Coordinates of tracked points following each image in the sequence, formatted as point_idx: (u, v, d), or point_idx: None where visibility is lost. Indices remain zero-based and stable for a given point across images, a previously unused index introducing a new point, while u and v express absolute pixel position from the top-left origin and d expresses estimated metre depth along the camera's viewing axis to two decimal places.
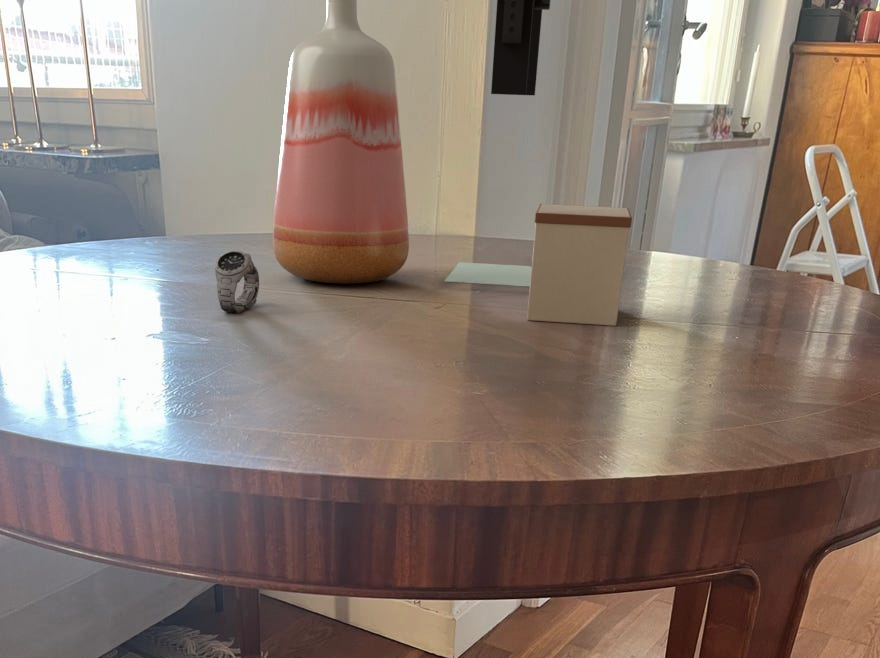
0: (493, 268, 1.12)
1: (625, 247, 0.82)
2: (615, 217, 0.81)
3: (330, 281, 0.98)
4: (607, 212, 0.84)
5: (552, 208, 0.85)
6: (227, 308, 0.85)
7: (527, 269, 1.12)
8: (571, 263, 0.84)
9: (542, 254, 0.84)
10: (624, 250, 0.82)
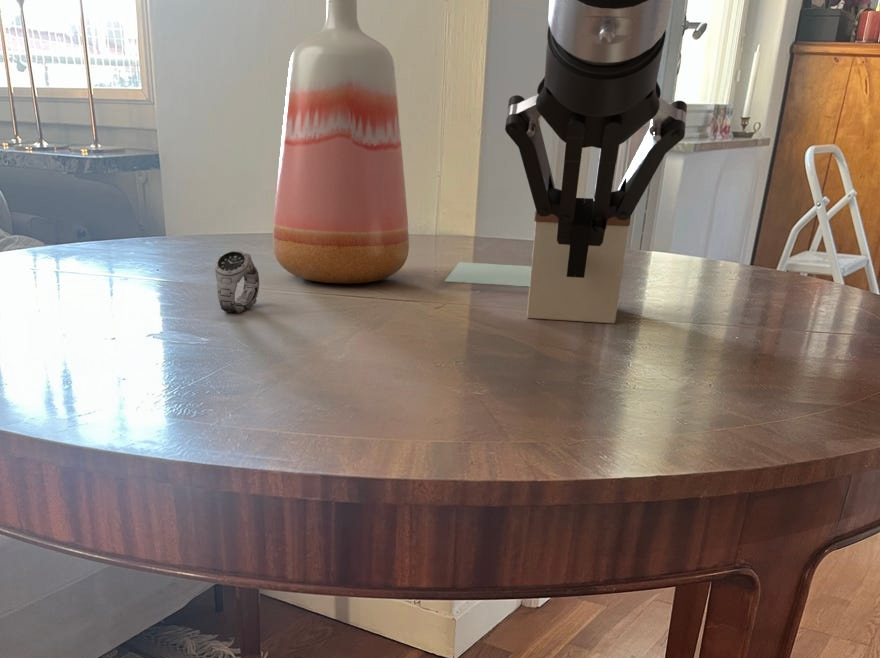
0: (493, 268, 1.12)
1: (624, 245, 0.83)
2: None
3: (330, 281, 0.98)
4: None
5: None
6: (227, 308, 0.85)
7: (527, 269, 1.12)
8: None
9: (542, 252, 0.84)
10: (623, 248, 0.83)
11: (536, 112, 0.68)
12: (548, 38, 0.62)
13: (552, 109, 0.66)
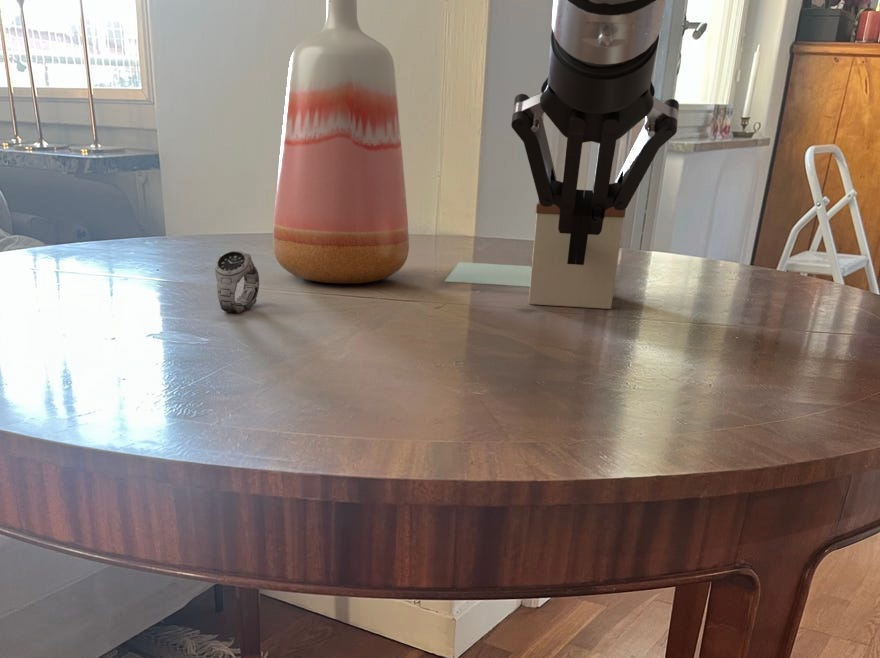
0: (493, 268, 1.12)
1: (619, 236, 0.89)
2: (610, 208, 0.88)
3: (330, 281, 0.98)
4: None
5: None
6: (227, 308, 0.85)
7: (527, 269, 1.12)
8: None
9: (543, 242, 0.90)
10: (618, 238, 0.89)
11: (540, 109, 0.73)
12: (551, 41, 0.67)
13: (555, 107, 0.72)
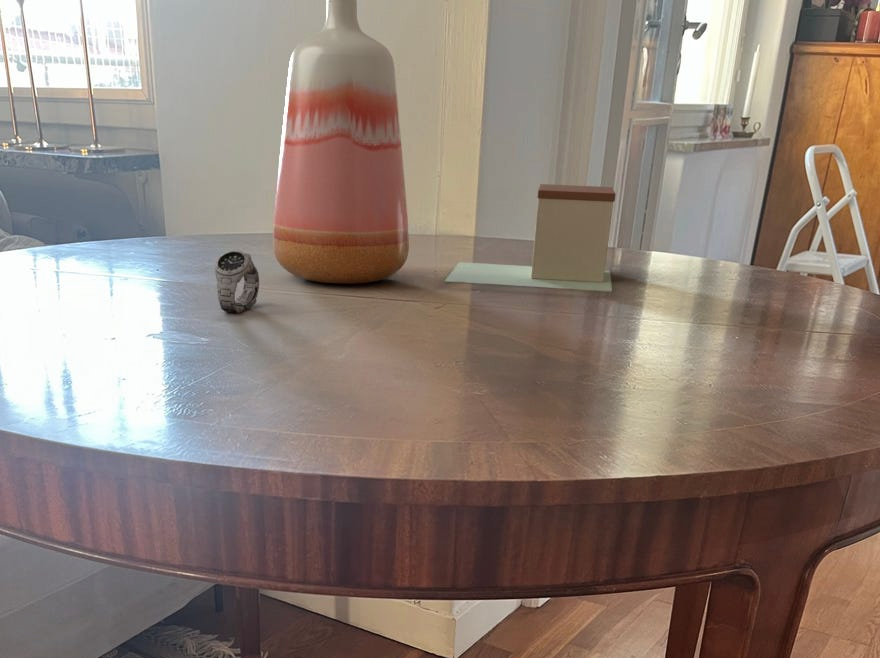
0: (493, 268, 1.12)
1: (610, 217, 1.02)
2: (602, 193, 1.01)
3: (330, 281, 0.98)
4: (595, 190, 1.04)
5: (550, 187, 1.05)
6: (227, 308, 0.85)
7: (527, 269, 1.12)
8: (567, 231, 1.03)
9: (543, 224, 1.03)
10: (609, 220, 1.02)
11: None
12: None
13: None
